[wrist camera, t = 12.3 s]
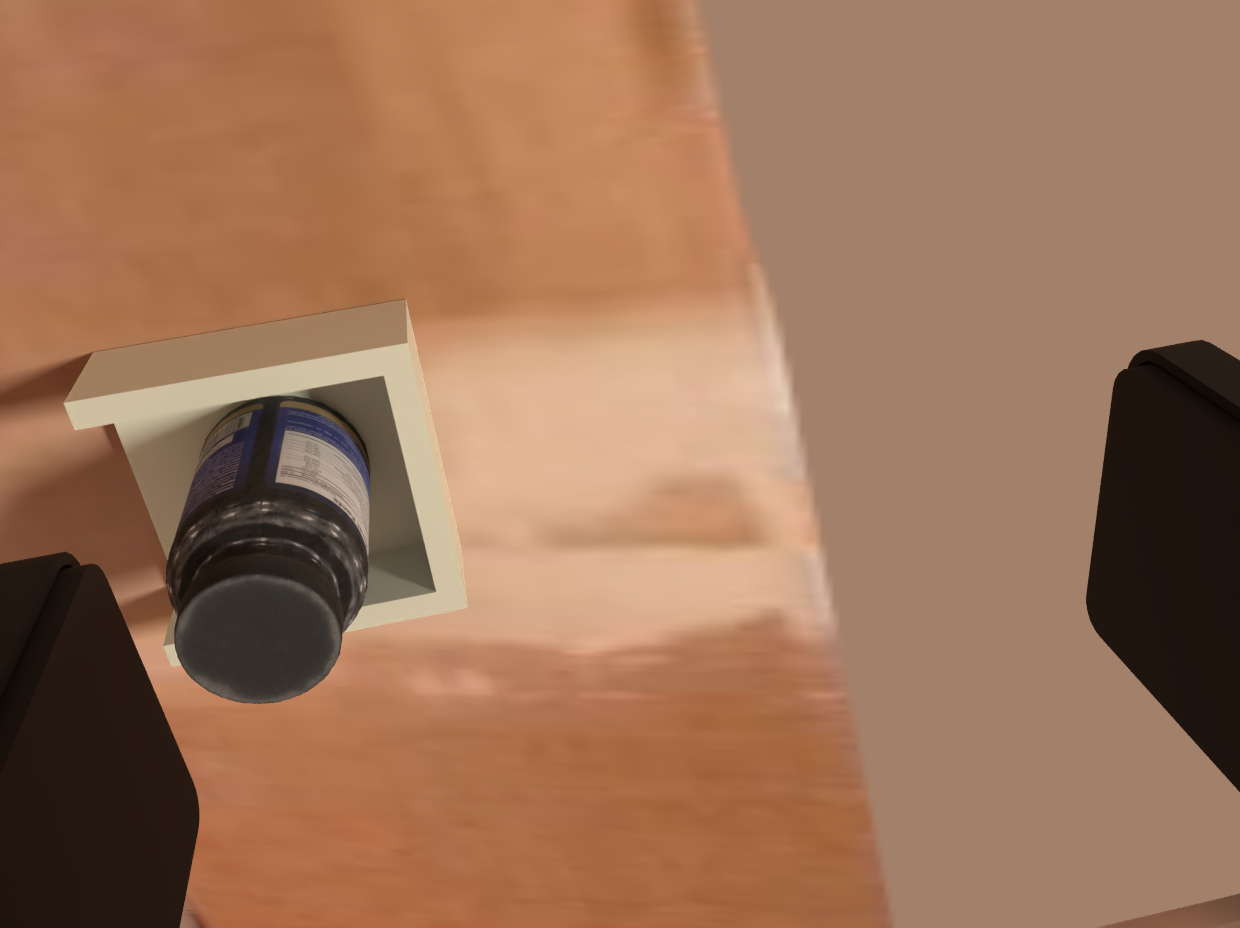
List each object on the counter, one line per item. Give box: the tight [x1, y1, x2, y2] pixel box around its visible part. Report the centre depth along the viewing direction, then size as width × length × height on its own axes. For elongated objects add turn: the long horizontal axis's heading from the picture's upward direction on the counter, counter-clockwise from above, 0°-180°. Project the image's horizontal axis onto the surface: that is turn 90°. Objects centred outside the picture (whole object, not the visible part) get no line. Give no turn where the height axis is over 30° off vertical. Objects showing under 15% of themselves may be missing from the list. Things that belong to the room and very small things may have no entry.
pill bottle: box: [166, 396, 370, 704], centre depth 37 cm, size 6×6×11 cm
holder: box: [64, 299, 468, 667], centre depth 40 cm, size 11×11×4 cm
